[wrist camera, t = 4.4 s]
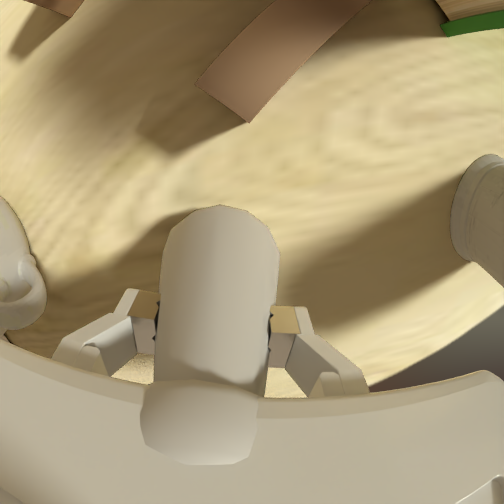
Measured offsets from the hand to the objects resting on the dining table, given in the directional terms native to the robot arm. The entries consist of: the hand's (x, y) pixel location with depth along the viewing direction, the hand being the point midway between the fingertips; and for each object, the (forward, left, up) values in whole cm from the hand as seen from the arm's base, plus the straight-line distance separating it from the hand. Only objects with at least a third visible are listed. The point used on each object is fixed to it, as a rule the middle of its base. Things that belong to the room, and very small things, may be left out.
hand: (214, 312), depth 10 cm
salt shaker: (0, 0, -6) cm, 6 cm away
